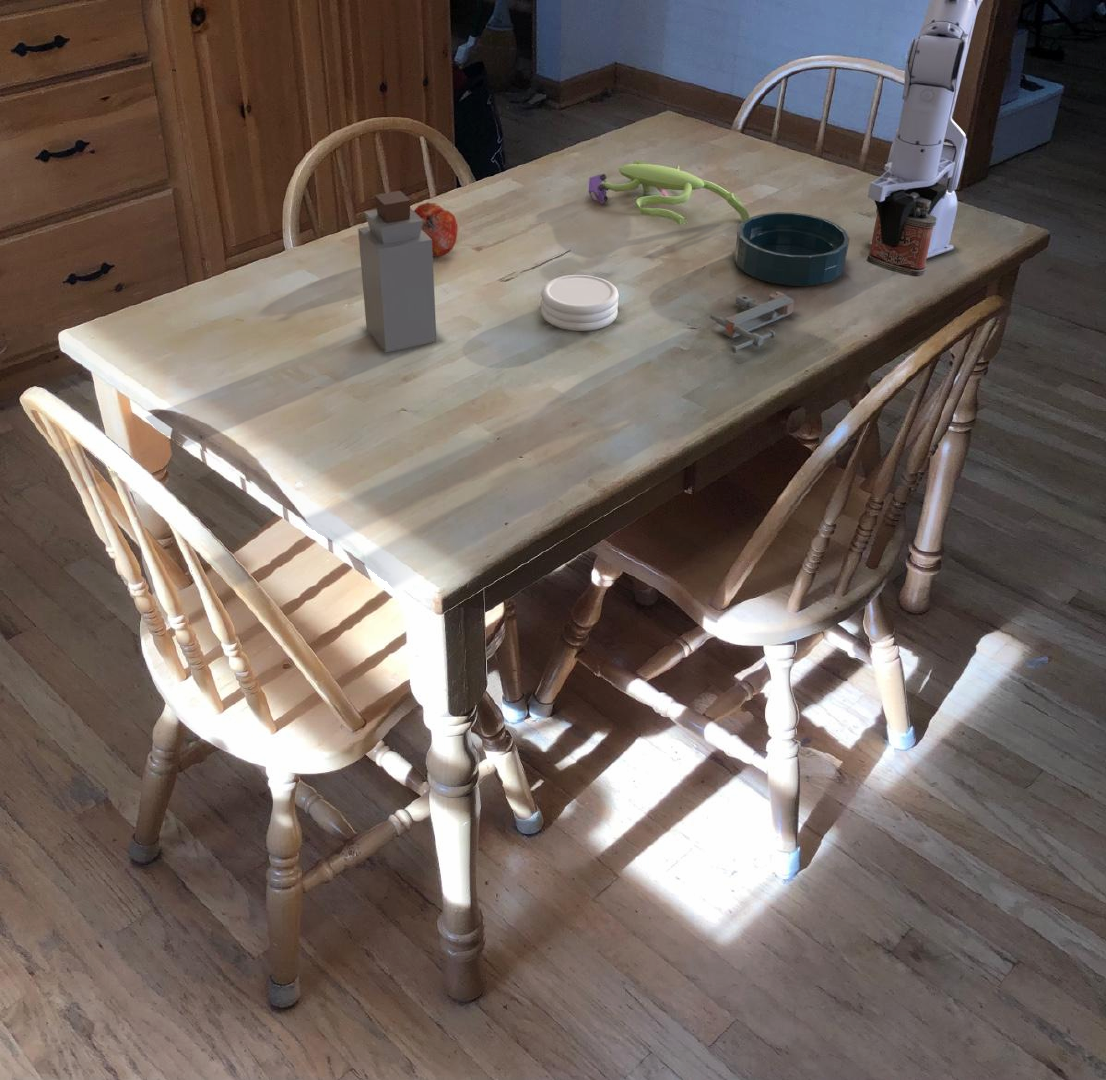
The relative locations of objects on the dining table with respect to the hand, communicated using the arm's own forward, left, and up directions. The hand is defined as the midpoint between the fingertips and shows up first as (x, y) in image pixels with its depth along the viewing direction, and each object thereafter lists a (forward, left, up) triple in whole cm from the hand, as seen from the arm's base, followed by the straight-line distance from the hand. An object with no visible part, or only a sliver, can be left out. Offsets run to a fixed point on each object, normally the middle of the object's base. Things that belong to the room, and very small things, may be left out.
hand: (899, 240), depth 160 cm
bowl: (+4, -15, -8) cm, 17 cm away
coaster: (+38, -19, -8) cm, 43 cm away
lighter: (0, 0, -4) cm, 4 cm away
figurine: (+6, -40, -8) cm, 41 cm away
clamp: (+22, -4, -8) cm, 24 cm away
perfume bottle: (+60, -27, -8) cm, 66 cm away
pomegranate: (+44, -46, -8) cm, 64 cm away
